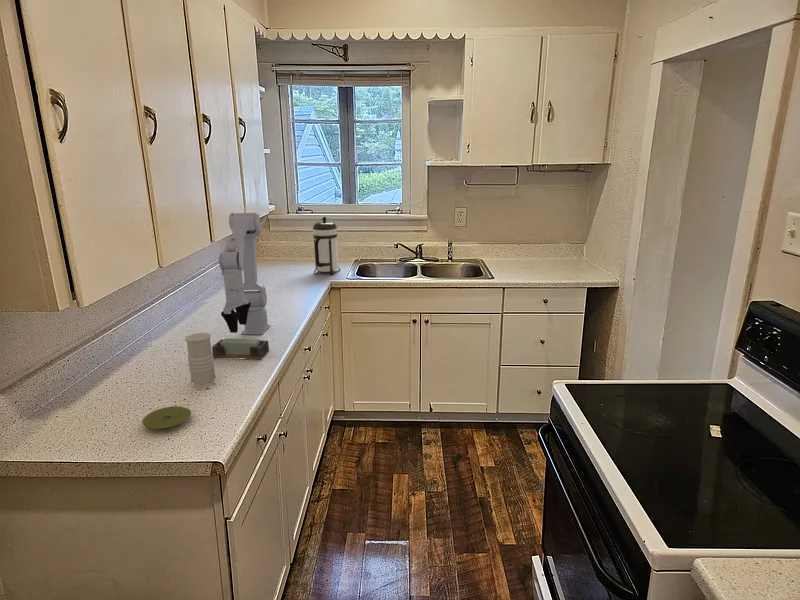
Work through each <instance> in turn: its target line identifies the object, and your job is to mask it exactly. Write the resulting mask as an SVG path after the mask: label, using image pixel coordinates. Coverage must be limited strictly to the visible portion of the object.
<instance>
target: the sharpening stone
mask: <svg viewBox="0 0 800 600" xmlns="http://www.w3.org/2000/svg"><path fill="white" fill-rule="evenodd" d="M260 340H261V339H260V338H259V339H258V338H227V337H225V338H224V339H223V341H222V342H220V346H224V352H225V354H237V355H251V354H250V347H259V346H260Z"/></svg>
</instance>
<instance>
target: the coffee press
mask: <svg viewBox="0 0 800 600" xmlns="http://www.w3.org/2000/svg"><path fill="white" fill-rule="evenodd" d="M321 219H322V221H318V222H317V221H316V222H315V223H313V226H312V230H313V235H312V238H313V244H314V245H313V246H314V261H315V265H314V266H315V270H314V271H313V273H314V274H315V275H317V274H318V273H319V272H321V273H322V272H323V273H329V274H330V276H334V275H335V273H334V272H335V271H338V272H340V271H341V268H340V267H339V259H338V258H339V257H338V233H337V228H338V226H337V225H336V223H335V222H333V221H330V220H329V221H328V220H327V217H326V216H322V218H321Z"/></svg>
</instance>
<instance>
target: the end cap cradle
mask: <svg viewBox="0 0 800 600" xmlns="http://www.w3.org/2000/svg"><path fill="white" fill-rule="evenodd" d="M223 340H224V339H220V340H218V342H216V343H215V344H214V345H213V346H211V351H212V353H213V358H245V359H244V360H249V359H262V358H263V357H264V356H265V355H266V354H267V353H268V354H269V352H270V348H269V340H262V339H260V346H259V347H250V354H251V355H237V354H225V352H224V346H220V342H222V341H223ZM268 354H267V355H268ZM267 355H266V356H267ZM266 356H265V357H266ZM265 357H264V358H265ZM264 358H263V359H264ZM263 359H262V360H263Z"/></svg>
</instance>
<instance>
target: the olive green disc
mask: <svg viewBox="0 0 800 600" xmlns="http://www.w3.org/2000/svg"><path fill="white" fill-rule="evenodd" d="M191 415H192V412H191V410H190V409H189V408H188V407H185V406H178V405H177V406H175V405H174V406H166V407H162V408H158V409H156V410H153V411H151V412H150V413H148V414H146V416H144V418H143V419H142V425H143V426H144V427H145V428H148V429H153V430H154V429H155V430H160V429H166V428H167V429H168V428H171V427H175V426H178V425H179V424H182V423H184V422H185V421H187V420H188V419H189V418H190V417H191Z"/></svg>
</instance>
